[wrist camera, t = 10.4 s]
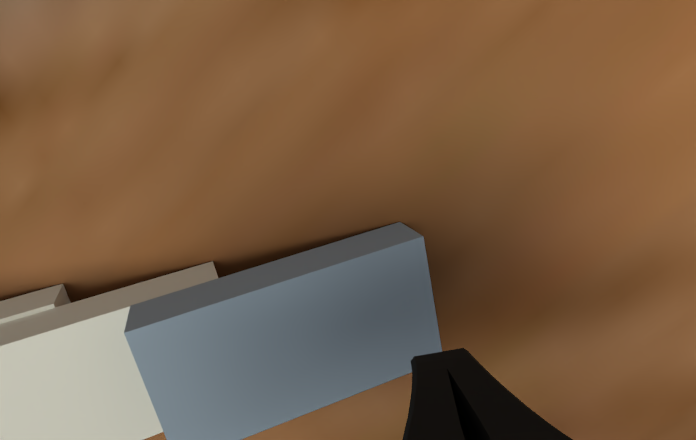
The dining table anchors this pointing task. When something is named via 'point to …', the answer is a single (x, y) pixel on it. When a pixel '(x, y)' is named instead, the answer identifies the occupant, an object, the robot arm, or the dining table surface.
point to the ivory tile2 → (81, 367)
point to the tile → (33, 303)
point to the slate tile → (285, 335)
